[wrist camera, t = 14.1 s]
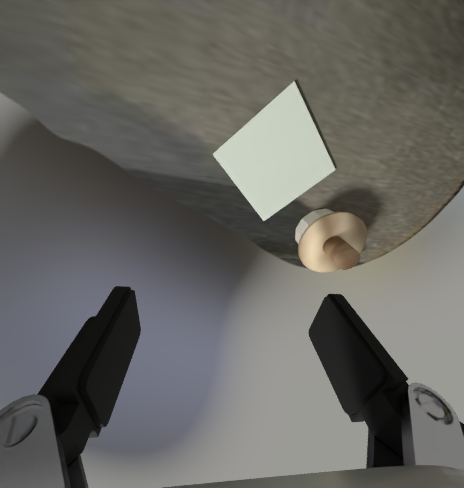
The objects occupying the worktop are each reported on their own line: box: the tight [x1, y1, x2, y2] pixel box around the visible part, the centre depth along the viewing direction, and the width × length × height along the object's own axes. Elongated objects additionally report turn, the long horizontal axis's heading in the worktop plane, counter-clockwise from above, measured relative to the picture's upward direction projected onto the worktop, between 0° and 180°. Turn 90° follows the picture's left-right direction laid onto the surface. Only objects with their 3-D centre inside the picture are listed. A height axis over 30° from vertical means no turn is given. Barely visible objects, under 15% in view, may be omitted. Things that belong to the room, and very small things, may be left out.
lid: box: [298, 212, 367, 272], centre depth 36 cm, size 13×13×6 cm
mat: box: [213, 81, 335, 221], centre depth 35 cm, size 16×16×1 cm
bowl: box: [295, 209, 334, 244], centre depth 41 cm, size 10×10×6 cm
